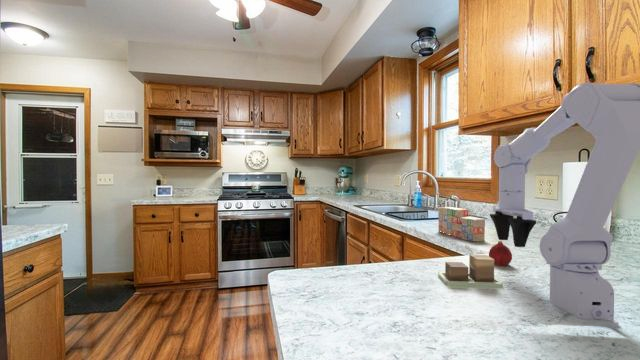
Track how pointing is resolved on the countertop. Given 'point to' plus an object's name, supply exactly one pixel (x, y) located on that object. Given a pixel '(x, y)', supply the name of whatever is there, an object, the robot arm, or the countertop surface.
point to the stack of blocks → (461, 224)
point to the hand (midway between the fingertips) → (510, 243)
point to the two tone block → (481, 268)
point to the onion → (500, 254)
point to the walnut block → (456, 271)
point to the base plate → (472, 283)
